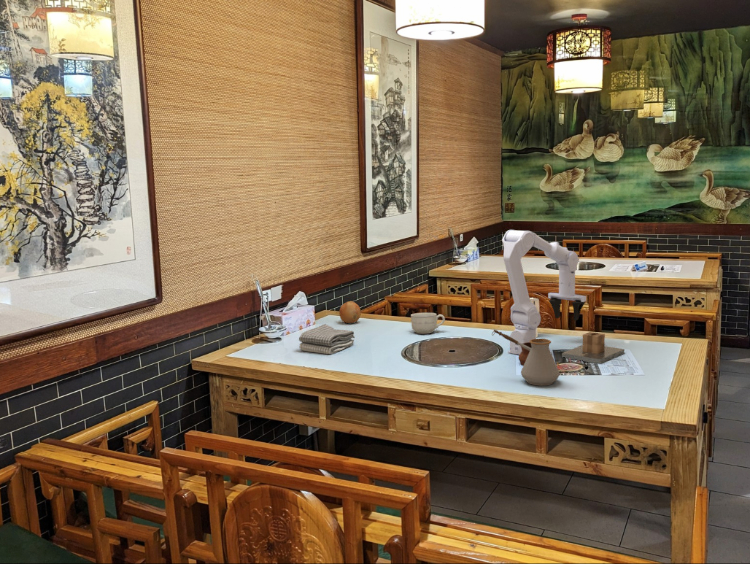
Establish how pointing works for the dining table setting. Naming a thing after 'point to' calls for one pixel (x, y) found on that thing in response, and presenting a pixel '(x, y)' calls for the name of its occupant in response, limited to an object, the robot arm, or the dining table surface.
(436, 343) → the dining table surface
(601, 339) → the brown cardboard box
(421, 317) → the teacup
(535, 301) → the beer glass
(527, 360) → the coffee pot
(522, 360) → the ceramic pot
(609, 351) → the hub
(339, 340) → the towel
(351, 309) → the onion
